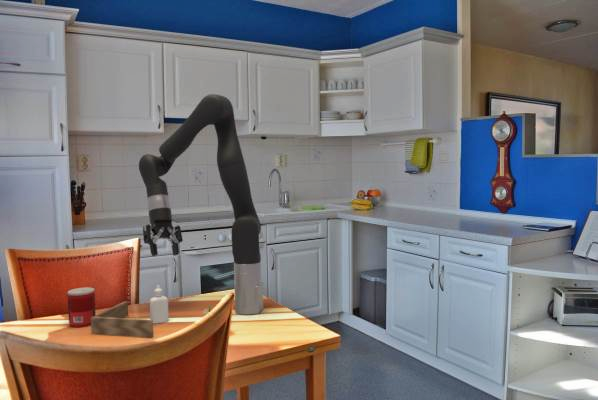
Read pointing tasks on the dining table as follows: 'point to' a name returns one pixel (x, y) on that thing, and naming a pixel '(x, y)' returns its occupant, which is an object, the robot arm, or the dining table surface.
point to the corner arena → (120, 323)
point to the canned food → (81, 306)
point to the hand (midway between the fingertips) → (165, 255)
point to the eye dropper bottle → (159, 307)
